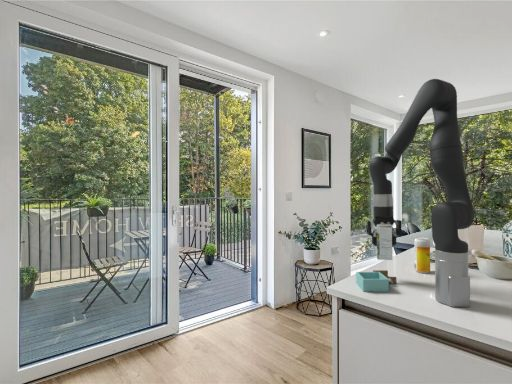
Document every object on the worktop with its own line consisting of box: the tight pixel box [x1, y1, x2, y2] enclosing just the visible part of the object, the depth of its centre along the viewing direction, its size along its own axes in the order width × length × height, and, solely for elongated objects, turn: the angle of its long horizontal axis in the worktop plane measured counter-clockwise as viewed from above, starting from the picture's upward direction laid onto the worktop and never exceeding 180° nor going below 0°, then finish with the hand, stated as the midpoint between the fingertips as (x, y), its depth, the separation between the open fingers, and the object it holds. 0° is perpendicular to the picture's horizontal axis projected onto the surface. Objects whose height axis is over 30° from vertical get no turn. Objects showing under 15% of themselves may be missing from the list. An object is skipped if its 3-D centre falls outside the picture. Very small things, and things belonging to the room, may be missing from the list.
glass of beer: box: [413, 236, 431, 275], centre depth 129 cm, size 6×6×15 cm
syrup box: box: [375, 224, 393, 261], centre depth 119 cm, size 6×6×14 cm
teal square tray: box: [355, 271, 390, 293], centre depth 111 cm, size 9×9×4 cm
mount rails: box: [372, 269, 397, 284], centre depth 118 cm, size 12×6×2 cm, turn 177°
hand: (384, 245), depth 119 cm, fingers closed on syrup box, 6 cm apart
